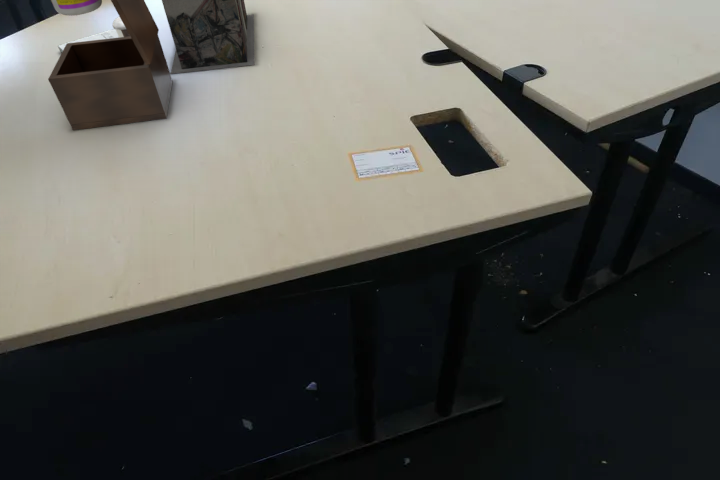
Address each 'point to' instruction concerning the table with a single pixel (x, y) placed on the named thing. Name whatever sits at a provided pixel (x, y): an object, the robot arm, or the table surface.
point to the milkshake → (120, 28)
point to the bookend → (210, 34)
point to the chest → (111, 83)
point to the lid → (138, 25)
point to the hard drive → (93, 38)
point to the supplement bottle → (75, 6)
